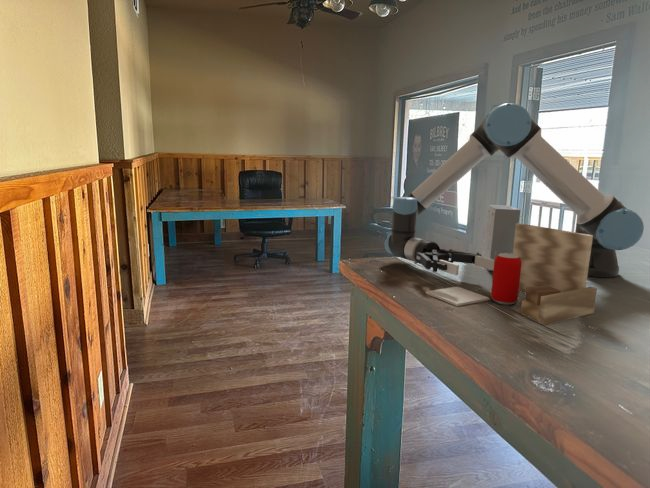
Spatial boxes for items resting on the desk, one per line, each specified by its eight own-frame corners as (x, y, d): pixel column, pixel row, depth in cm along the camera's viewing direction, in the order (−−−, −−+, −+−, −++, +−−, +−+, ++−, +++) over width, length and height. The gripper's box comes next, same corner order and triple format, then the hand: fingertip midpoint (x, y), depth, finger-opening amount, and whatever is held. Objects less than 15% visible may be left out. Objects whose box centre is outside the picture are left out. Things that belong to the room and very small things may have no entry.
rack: (464, 295, 117) (471, 226, 113) (512, 287, 125) (519, 223, 122) (544, 325, 97) (554, 243, 94) (594, 312, 106) (605, 237, 102)
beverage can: (522, 305, 110) (527, 257, 108) (499, 306, 109) (504, 258, 106) (507, 297, 116) (512, 252, 113) (485, 298, 114) (490, 252, 112)
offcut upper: (524, 299, 104) (526, 287, 103) (546, 297, 106) (547, 285, 105) (536, 305, 100) (538, 292, 100) (559, 303, 102) (560, 290, 101)
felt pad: (457, 288, 123) (457, 286, 123) (489, 300, 113) (489, 297, 113) (426, 293, 118) (426, 291, 117) (456, 306, 108) (457, 303, 108)
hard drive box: (514, 273, 141) (521, 210, 137) (488, 271, 142) (494, 208, 138) (504, 262, 156) (511, 204, 152) (481, 261, 157) (487, 203, 153)
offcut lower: (520, 315, 104) (522, 300, 103) (540, 310, 107) (541, 296, 107) (539, 322, 100) (541, 307, 99) (559, 317, 103) (561, 302, 102)
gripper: (452, 260, 144) (507, 276, 126) (389, 267, 132) (439, 286, 114) (454, 237, 143) (510, 250, 124) (390, 242, 131) (442, 257, 112)
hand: (476, 267), depth 119 cm, fingers open, 13 cm apart
